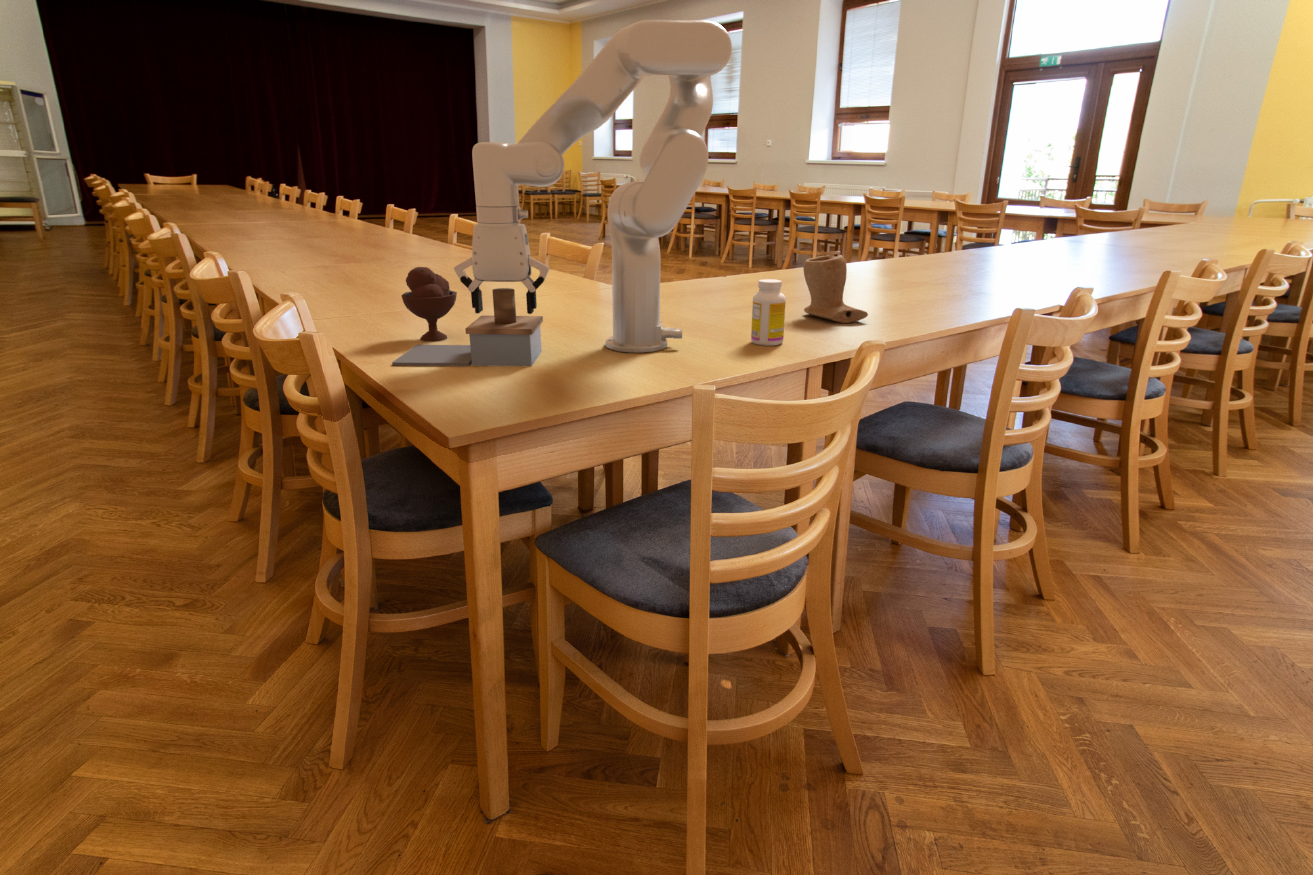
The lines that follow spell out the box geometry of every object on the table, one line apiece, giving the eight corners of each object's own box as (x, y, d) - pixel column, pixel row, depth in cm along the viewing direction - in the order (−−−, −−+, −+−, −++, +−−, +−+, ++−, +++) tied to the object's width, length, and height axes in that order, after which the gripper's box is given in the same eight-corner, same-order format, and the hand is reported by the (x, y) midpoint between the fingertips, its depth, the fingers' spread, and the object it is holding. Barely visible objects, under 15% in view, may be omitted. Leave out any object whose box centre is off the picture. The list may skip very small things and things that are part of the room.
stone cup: (790, 314, 183) (795, 252, 178) (831, 311, 187) (837, 250, 182) (825, 327, 170) (830, 260, 164) (868, 323, 174) (875, 258, 168)
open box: (541, 351, 146) (540, 321, 144) (531, 366, 136) (529, 334, 134) (486, 351, 146) (483, 321, 144) (471, 365, 136) (469, 333, 134)
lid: (543, 321, 144) (541, 284, 142) (532, 334, 133) (530, 295, 131) (481, 320, 144) (478, 284, 142) (465, 334, 133) (462, 295, 131)
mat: (486, 348, 148) (486, 345, 148) (468, 366, 135) (468, 363, 135) (417, 347, 149) (416, 344, 148) (392, 365, 136) (392, 362, 135)
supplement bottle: (786, 341, 156) (791, 279, 151) (777, 348, 150) (782, 284, 145) (756, 338, 158) (759, 277, 154) (746, 344, 153) (749, 281, 148)
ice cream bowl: (446, 345, 150) (439, 270, 145) (396, 343, 152) (387, 268, 147) (469, 334, 160) (463, 264, 155) (422, 332, 162) (414, 262, 157)
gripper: (550, 215, 135) (554, 309, 141) (456, 215, 135) (464, 308, 141) (543, 218, 128) (548, 316, 134) (444, 218, 128) (453, 316, 134)
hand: (504, 312), depth 138 cm, fingers open, 9 cm apart
